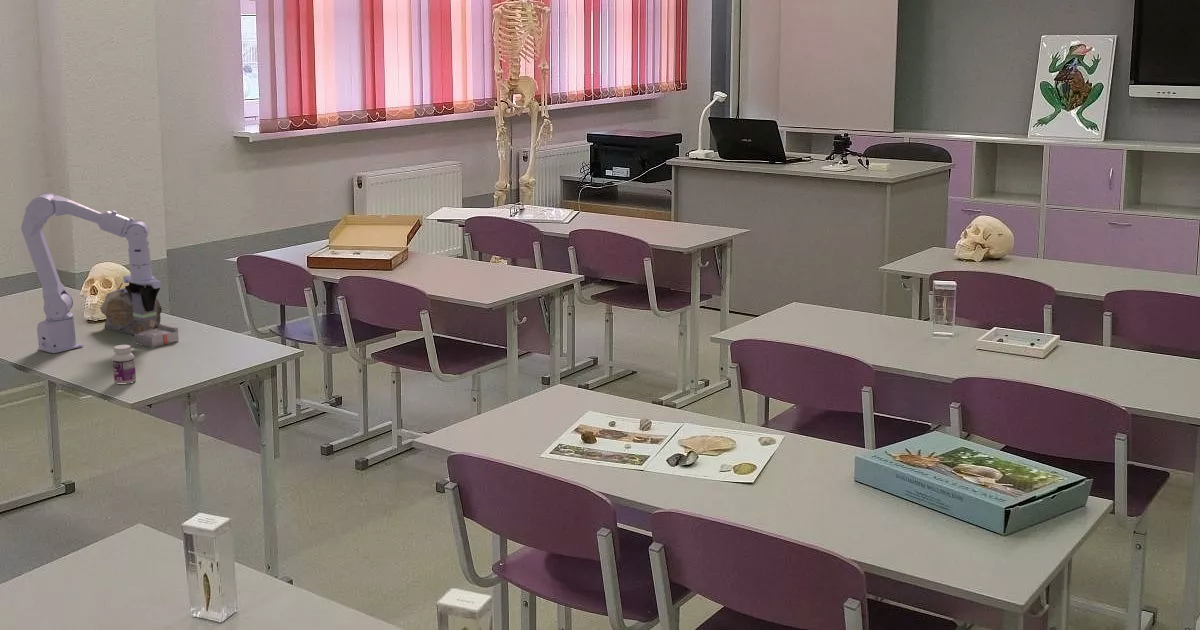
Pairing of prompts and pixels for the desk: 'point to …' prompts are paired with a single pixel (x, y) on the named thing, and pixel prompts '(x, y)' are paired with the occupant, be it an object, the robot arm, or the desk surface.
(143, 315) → the grey rectangular block
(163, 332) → the stand block
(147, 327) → the fossil rock
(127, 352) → the pill bottle
